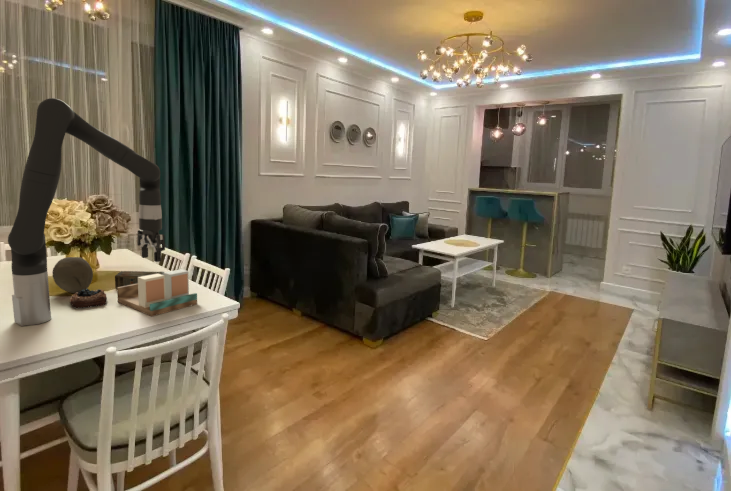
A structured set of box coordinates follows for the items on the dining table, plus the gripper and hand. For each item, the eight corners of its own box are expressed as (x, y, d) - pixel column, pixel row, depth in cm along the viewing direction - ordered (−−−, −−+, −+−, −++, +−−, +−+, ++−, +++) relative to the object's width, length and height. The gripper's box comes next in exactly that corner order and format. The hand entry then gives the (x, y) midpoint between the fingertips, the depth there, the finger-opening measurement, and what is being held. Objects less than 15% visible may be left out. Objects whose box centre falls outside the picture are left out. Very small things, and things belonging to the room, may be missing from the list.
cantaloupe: (100, 287, 180) (98, 254, 178) (83, 297, 167) (81, 261, 164) (65, 287, 178) (62, 253, 176) (45, 297, 165) (42, 260, 162)
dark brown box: (161, 288, 185) (161, 274, 183) (114, 289, 180) (113, 274, 179) (166, 283, 192) (165, 270, 191) (120, 284, 188) (119, 270, 187)
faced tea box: (171, 301, 163) (170, 274, 161) (164, 299, 165) (163, 272, 163) (189, 297, 169) (188, 271, 167) (182, 294, 172) (181, 269, 170)
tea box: (145, 307, 154) (144, 279, 152) (138, 305, 157) (137, 277, 155) (165, 302, 161) (165, 275, 159) (158, 300, 163) (158, 273, 161)
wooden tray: (151, 316, 152) (151, 300, 151) (117, 301, 164) (117, 287, 163) (197, 304, 168) (197, 289, 167) (163, 291, 180) (162, 278, 179)
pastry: (108, 305, 160) (107, 291, 159) (70, 310, 153) (69, 295, 152) (105, 297, 169) (105, 284, 168) (69, 301, 162) (68, 287, 161)
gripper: (129, 215, 153) (131, 257, 156) (151, 219, 146) (152, 264, 149) (149, 214, 160) (150, 255, 162) (171, 218, 152) (171, 261, 155)
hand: (151, 259), depth 156 cm, fingers open, 8 cm apart
